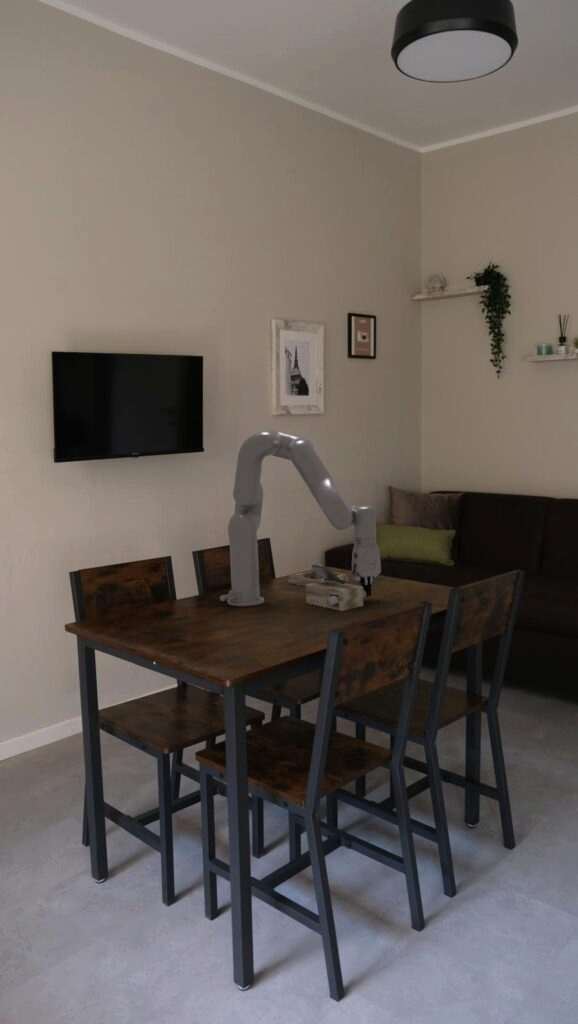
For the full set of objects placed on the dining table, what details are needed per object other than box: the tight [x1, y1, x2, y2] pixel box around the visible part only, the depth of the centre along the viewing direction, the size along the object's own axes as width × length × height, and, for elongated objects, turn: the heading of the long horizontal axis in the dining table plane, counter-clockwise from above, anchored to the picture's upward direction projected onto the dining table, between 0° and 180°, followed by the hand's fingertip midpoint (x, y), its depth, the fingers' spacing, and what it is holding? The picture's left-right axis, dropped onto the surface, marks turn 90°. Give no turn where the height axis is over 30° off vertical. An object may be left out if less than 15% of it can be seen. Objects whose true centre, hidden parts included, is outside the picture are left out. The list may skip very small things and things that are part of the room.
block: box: [305, 579, 364, 612], centre depth 278 cm, size 10×17×8 cm, turn 42°
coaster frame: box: [287, 571, 349, 587], centre depth 316 cm, size 16×15×3 cm
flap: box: [311, 564, 342, 583], centre depth 281 cm, size 9×7×1 cm
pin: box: [326, 589, 367, 606], centre depth 275 cm, size 15×4×4 cm, turn 132°
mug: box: [309, 563, 324, 580], centre depth 317 cm, size 8×10×10 cm
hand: (366, 595), depth 281 cm, fingers closed
